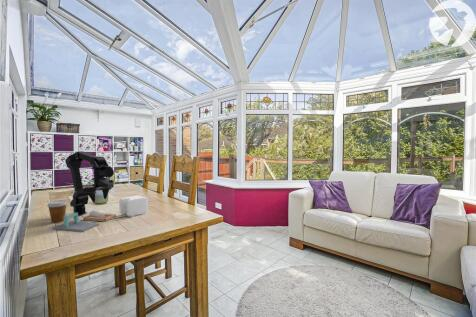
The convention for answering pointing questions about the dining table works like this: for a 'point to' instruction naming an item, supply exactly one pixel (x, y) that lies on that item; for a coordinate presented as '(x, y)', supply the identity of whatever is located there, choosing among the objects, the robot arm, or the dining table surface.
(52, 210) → the disposable coffee cup
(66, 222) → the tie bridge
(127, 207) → the cable organizer
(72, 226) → the board
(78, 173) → the robot arm
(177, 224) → the dining table surface
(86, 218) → the tray
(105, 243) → the dining table surface
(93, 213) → the white bottle
